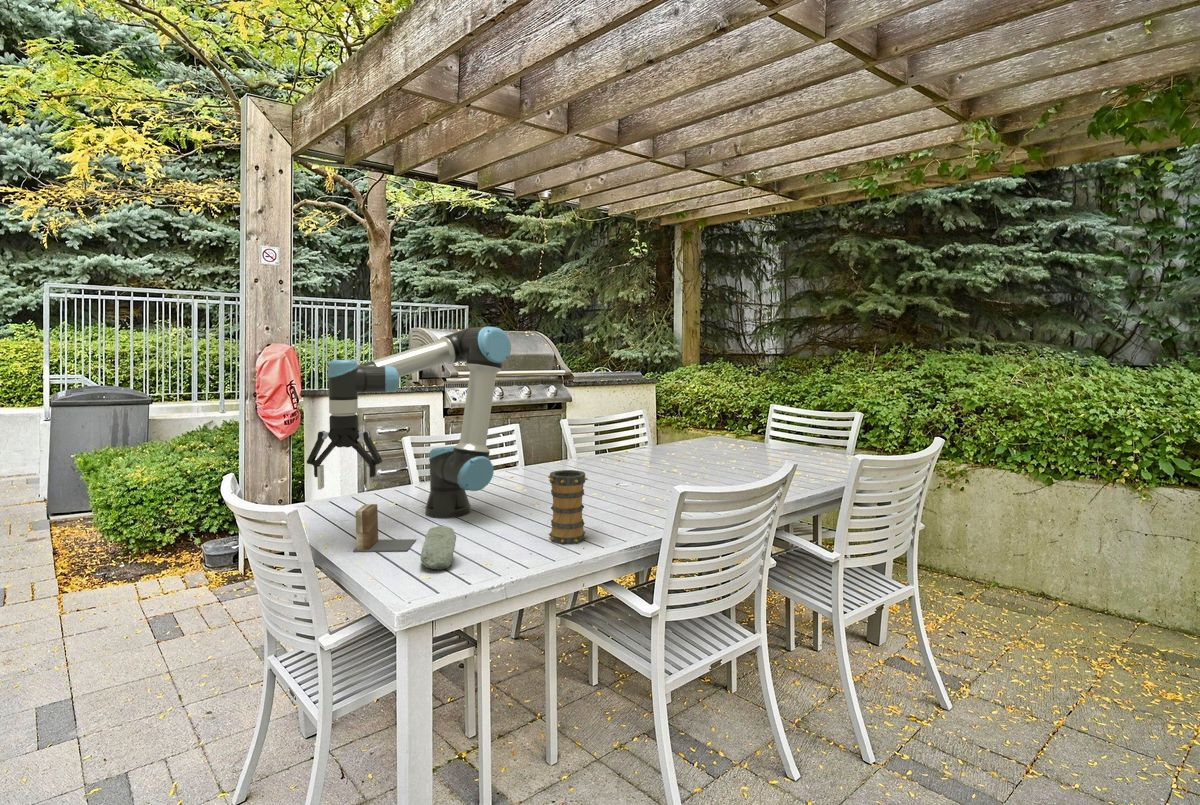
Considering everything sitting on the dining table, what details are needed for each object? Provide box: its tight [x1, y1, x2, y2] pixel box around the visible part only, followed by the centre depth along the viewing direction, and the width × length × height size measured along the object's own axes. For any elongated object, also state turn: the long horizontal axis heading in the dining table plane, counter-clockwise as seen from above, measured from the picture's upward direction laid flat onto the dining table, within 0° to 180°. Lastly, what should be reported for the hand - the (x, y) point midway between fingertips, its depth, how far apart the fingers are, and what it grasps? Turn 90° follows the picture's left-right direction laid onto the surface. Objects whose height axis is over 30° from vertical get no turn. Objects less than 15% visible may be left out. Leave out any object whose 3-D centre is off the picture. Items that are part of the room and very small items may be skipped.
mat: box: [352, 538, 417, 553], centre depth 180 cm, size 15×10×1 cm, turn 92°
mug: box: [547, 469, 589, 545], centre depth 189 cm, size 13×17×20 cm
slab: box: [355, 503, 379, 550], centre depth 180 cm, size 4×8×11 cm, turn 2°
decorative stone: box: [420, 524, 457, 570], centre depth 166 cm, size 13×11×10 cm
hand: (345, 488), depth 178 cm, fingers open, 13 cm apart
